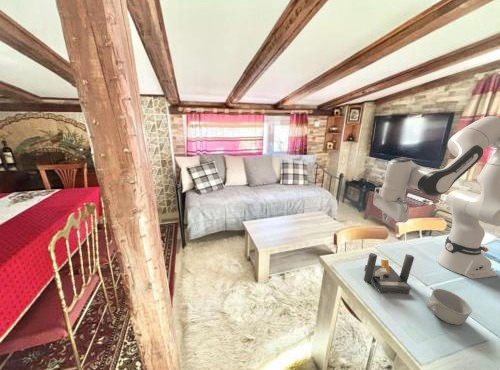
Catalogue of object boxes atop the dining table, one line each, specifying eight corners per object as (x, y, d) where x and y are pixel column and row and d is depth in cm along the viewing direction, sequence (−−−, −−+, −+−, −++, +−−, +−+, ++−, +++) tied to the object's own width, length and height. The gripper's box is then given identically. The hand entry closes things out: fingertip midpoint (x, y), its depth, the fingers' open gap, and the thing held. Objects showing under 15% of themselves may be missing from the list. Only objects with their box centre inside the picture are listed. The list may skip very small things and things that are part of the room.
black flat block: (388, 270, 100) (390, 265, 99) (408, 293, 87) (410, 287, 86) (364, 270, 101) (365, 264, 100) (380, 292, 87) (381, 286, 86)
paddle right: (378, 273, 93) (385, 268, 88) (379, 277, 92) (387, 272, 87) (373, 273, 93) (380, 268, 88) (374, 276, 92) (381, 271, 87)
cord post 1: (369, 278, 95) (374, 253, 91) (372, 282, 93) (378, 257, 88) (362, 277, 96) (368, 253, 91) (365, 282, 93) (371, 257, 88)
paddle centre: (387, 274, 94) (386, 259, 95) (389, 275, 92) (388, 260, 94) (382, 274, 94) (380, 259, 95) (384, 275, 92) (382, 260, 94)
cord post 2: (403, 279, 95) (410, 254, 91) (408, 284, 92) (415, 258, 88) (397, 279, 95) (404, 254, 91) (401, 284, 92) (408, 258, 88)
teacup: (448, 305, 82) (454, 289, 79) (473, 331, 71) (481, 314, 69) (411, 302, 83) (416, 286, 81) (431, 327, 73) (438, 310, 70)
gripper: (417, 203, 80) (408, 233, 84) (386, 187, 99) (380, 212, 103) (400, 202, 80) (393, 233, 84) (373, 187, 99) (367, 212, 104)
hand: (385, 221), depth 94 cm, fingers closed
